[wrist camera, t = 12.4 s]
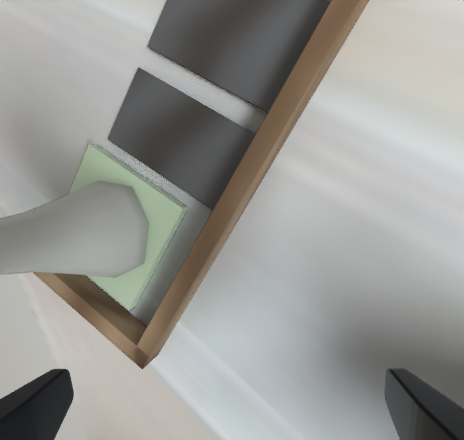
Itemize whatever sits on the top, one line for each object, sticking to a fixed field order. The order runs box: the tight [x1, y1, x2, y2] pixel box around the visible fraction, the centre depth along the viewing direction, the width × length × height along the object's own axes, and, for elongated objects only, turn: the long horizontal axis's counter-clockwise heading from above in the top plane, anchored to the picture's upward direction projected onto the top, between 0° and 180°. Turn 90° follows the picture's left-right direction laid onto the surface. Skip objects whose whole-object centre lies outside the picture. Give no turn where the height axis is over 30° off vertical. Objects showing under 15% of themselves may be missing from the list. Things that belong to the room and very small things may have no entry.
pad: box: [68, 144, 188, 310], centre depth 22 cm, size 9×9×1 cm
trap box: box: [33, 0, 369, 369], centre depth 18 cm, size 12×38×2 cm, turn 149°
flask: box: [0, 180, 149, 278], centre depth 17 cm, size 7×7×10 cm
